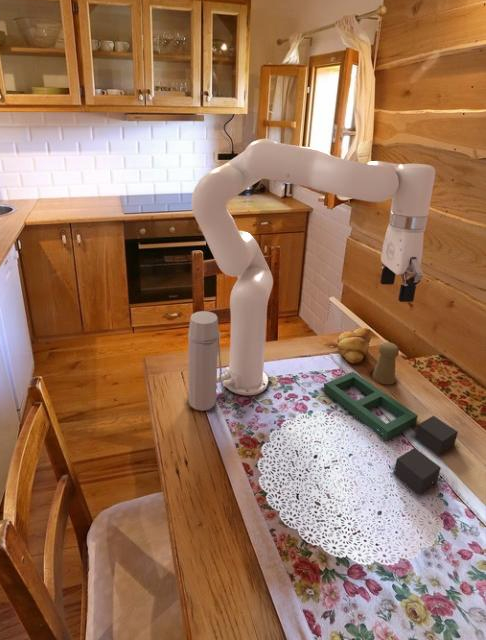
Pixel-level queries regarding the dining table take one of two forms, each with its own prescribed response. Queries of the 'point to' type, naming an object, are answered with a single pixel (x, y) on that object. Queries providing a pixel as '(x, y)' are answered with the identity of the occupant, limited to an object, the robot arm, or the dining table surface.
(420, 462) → the pad
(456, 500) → the dining table surface
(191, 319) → the water bottle
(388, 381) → the pepper mill
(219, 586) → the dining table surface
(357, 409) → the green rectangular frame
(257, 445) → the dining table surface
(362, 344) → the bread roll
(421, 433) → the pad
